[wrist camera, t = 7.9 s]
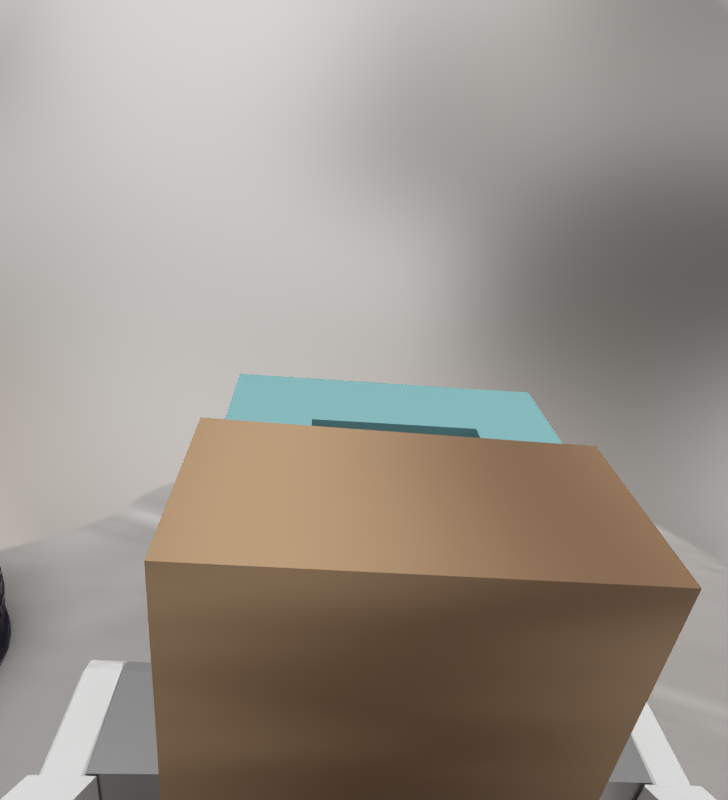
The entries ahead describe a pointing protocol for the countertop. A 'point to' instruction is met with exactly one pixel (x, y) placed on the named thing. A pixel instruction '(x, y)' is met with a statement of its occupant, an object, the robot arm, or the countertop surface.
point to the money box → (390, 408)
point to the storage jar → (3, 623)
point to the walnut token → (401, 617)
